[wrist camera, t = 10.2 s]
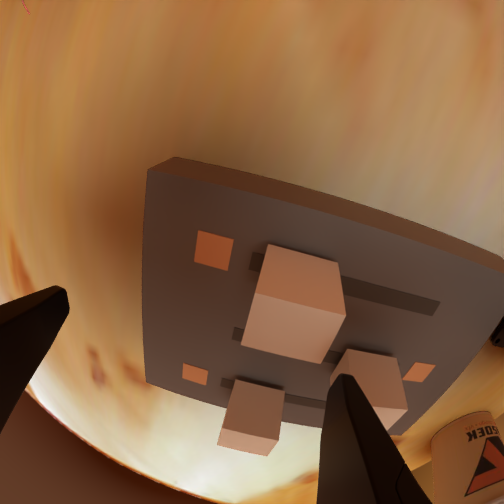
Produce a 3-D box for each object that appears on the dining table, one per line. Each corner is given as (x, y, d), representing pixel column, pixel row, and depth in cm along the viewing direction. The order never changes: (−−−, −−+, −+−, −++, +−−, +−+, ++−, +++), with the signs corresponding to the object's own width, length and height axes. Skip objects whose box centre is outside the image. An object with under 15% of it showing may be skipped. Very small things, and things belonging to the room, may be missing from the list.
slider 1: (284, 391, 17) (278, 440, 13) (274, 410, 18) (267, 456, 15) (235, 379, 17) (222, 427, 14) (229, 400, 18) (216, 444, 15)
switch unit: (500, 256, 14) (524, 282, 11) (396, 406, 21) (401, 435, 18) (174, 157, 15) (147, 169, 12) (160, 354, 22) (145, 382, 19)
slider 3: (396, 358, 14) (408, 409, 11) (376, 384, 15) (382, 434, 12) (347, 348, 14) (351, 403, 11) (330, 377, 15) (330, 429, 12)
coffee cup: (511, 404, 20) (537, 490, 9) (462, 448, 24) (475, 525, 14) (459, 405, 20) (482, 514, 10) (408, 451, 25) (414, 542, 14)
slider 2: (337, 262, 12) (346, 315, 9) (319, 307, 13) (320, 363, 10) (268, 243, 12) (254, 292, 9) (255, 290, 14) (240, 344, 10)
